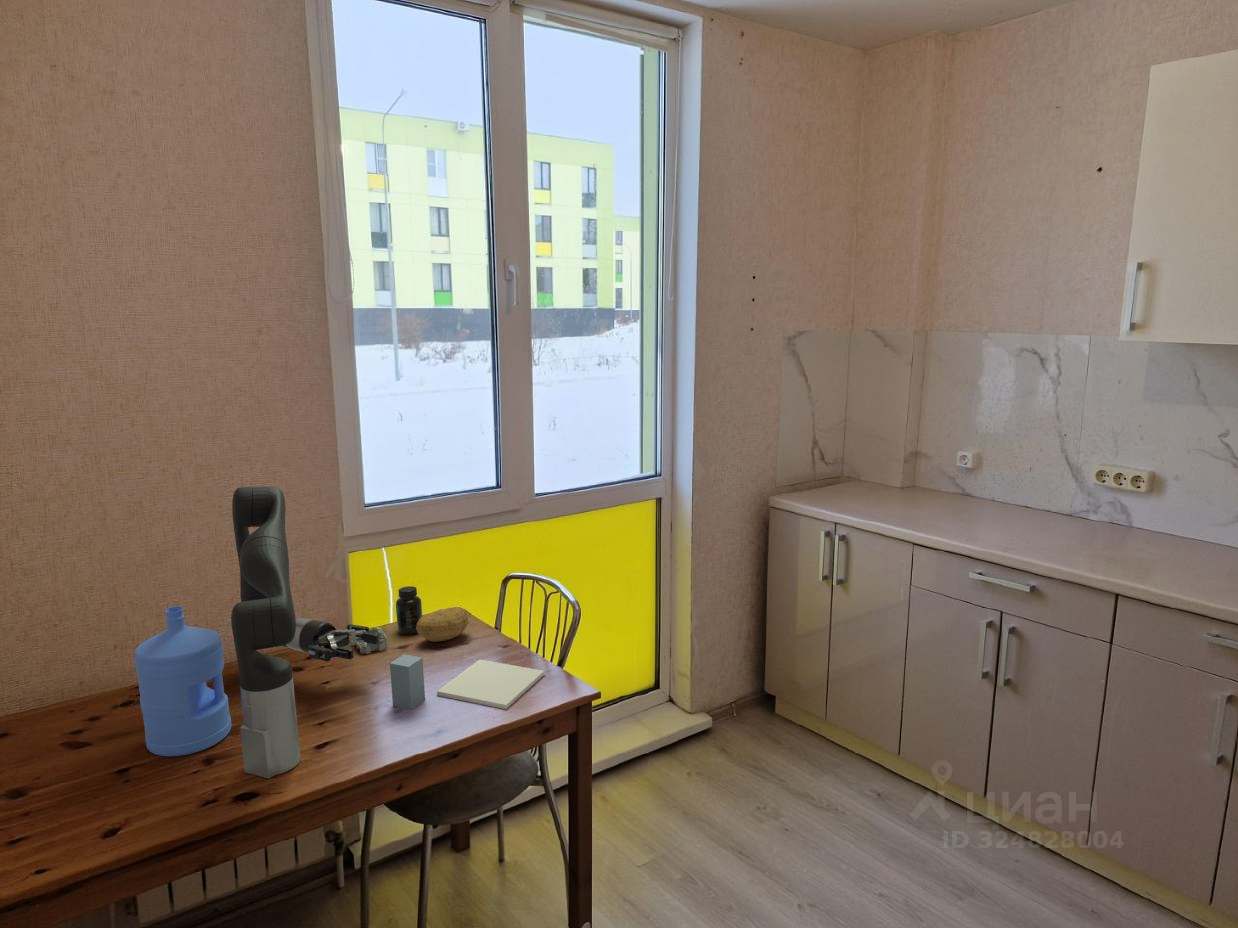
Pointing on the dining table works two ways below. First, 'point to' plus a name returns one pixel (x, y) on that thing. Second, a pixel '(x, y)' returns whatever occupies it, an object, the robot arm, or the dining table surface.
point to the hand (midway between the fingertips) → (365, 646)
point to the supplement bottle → (408, 610)
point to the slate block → (407, 681)
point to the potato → (442, 624)
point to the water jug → (182, 688)
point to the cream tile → (491, 683)
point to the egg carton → (372, 647)
